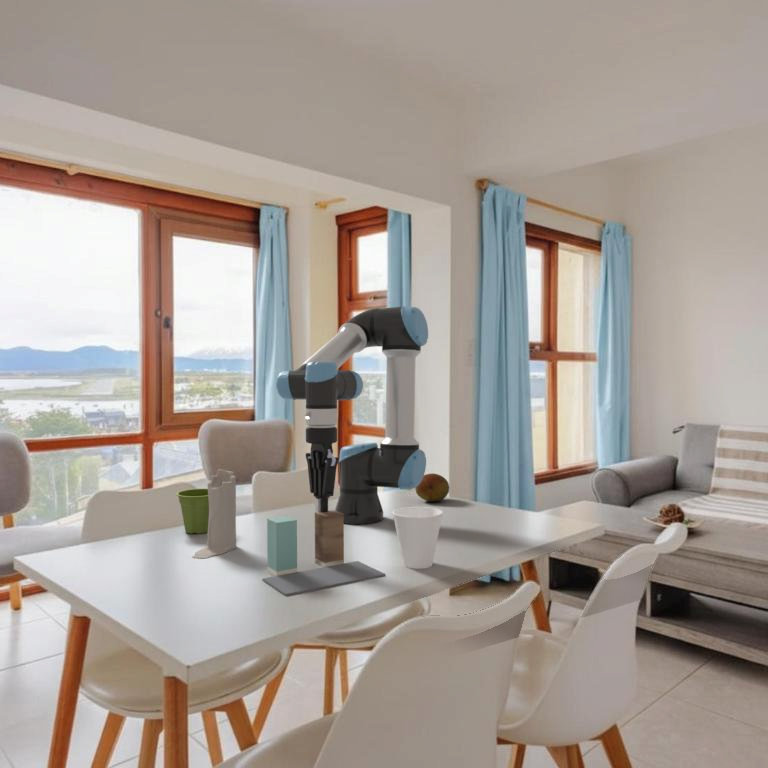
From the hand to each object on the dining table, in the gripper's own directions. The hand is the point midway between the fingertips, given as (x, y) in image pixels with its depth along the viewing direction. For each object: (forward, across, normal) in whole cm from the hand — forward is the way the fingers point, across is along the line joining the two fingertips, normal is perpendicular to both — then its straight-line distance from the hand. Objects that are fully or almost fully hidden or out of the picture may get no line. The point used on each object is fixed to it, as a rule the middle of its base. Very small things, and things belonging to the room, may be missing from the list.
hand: (321, 524), depth 157 cm
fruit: (+9, -44, +66) cm, 80 cm away
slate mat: (+9, +12, -6) cm, 16 cm away
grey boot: (+9, -22, -19) cm, 31 cm away
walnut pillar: (+9, +3, 0) cm, 9 cm away
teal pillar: (+9, +3, -12) cm, 15 cm away
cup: (+9, +15, +17) cm, 25 cm away
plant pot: (+9, -46, -16) cm, 49 cm away
